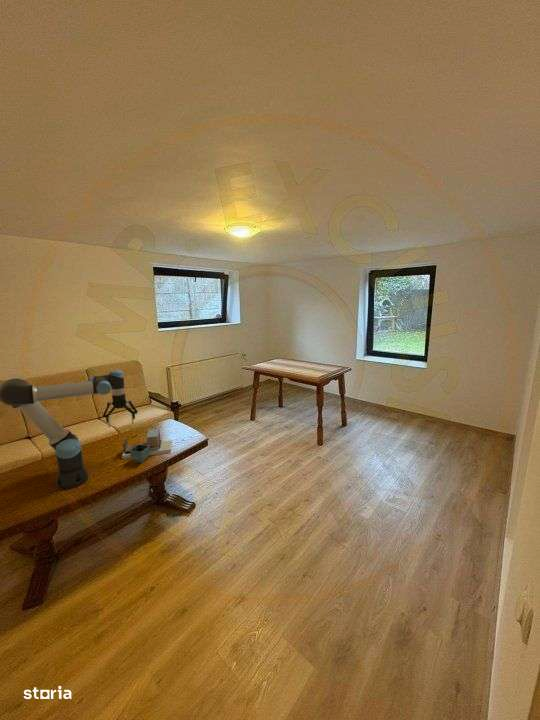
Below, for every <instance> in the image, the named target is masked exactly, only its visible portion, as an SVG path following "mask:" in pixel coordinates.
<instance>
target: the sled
mask: <svg viewBox="0 0 540 720" xmlns="http://www.w3.org/2000/svg"><path fill="white" fill-rule="evenodd" d="M161 441H162V439H160V441H159V448H161V443H162V442H161ZM138 444H140V445H147V442H145V443H144V442H143V443H135V444H129V443H128V439H127V438H125V439H124V441H123V443H122V449H123V452H124V453H126V452H130V450H131V449H132V448H134V447H135V446H136V445H138ZM155 447H157V446H155ZM155 447H150V448H155Z"/></svg>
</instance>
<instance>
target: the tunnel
mask: <svg viewBox="0 0 540 720" xmlns="http://www.w3.org/2000/svg"><path fill="white" fill-rule="evenodd" d="M160 432H161V430H160V428H154V429H153V428H152V429H148V431H147V435H146V443H147V445H149V439H153V438H156V444H157V447H155V448H150V446H149V451H157V450H159V443H158V435H159V441H160V440H161V433H160Z"/></svg>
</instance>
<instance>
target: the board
mask: <svg viewBox="0 0 540 720" xmlns="http://www.w3.org/2000/svg"><path fill="white" fill-rule="evenodd" d="M161 442H162V443H161V448H159V450H157V451H149V455H148V457H149V456H155V455H156V456H157V455H165V454H171V453H172V446H173V445H172V443H173V441H172V440H171V439H170V440H169V439H168V440H163V441H162V440H161ZM121 459H122V460H126V459H132V458H131V455H130V452H126V453H124V451H123V452H122V455H121Z"/></svg>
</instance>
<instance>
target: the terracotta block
mask: <svg viewBox="0 0 540 720" xmlns="http://www.w3.org/2000/svg"><path fill="white" fill-rule="evenodd" d="M158 443H159V435H158ZM149 446H150V447H155V446H157V444H156V438H153V439H149Z"/></svg>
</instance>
